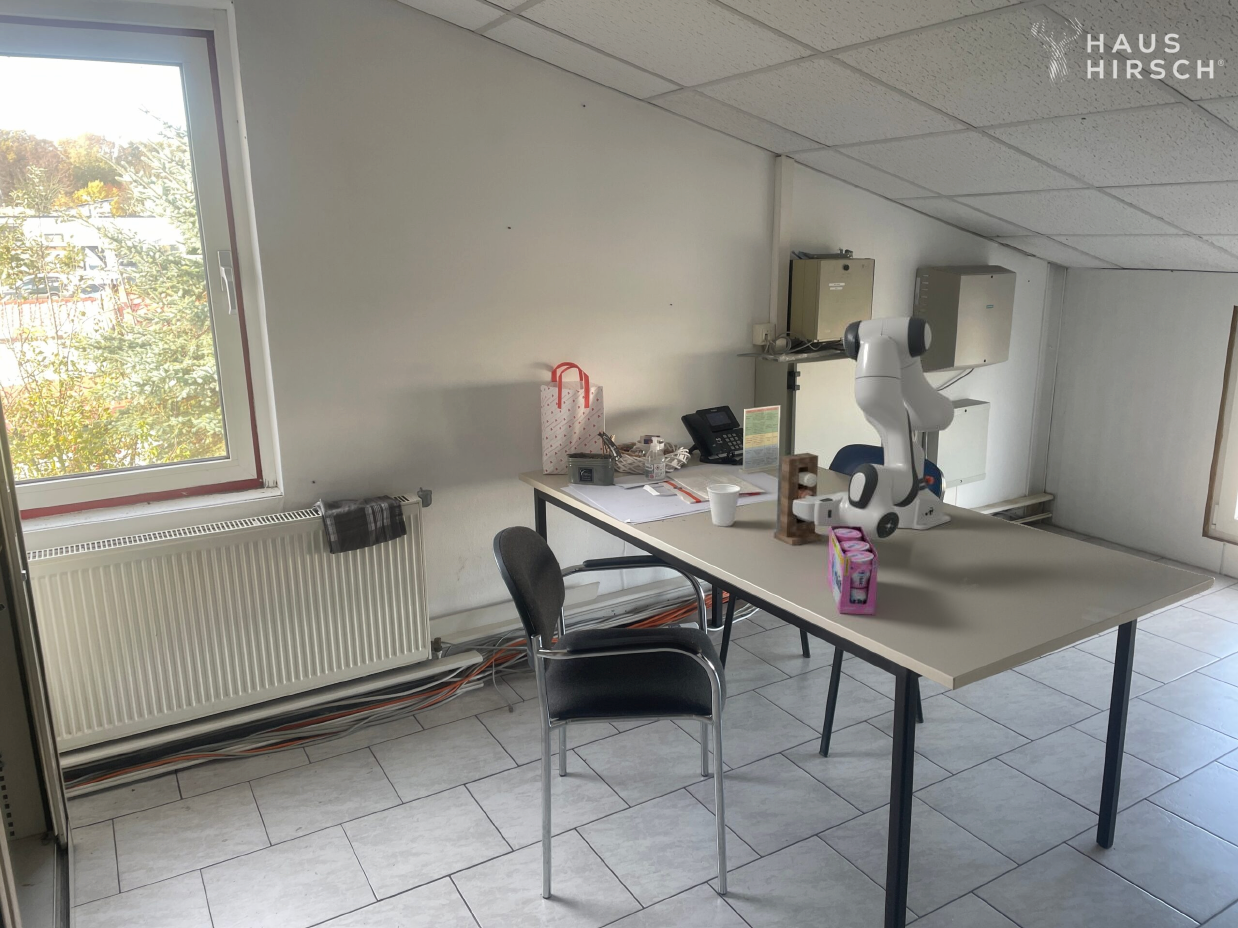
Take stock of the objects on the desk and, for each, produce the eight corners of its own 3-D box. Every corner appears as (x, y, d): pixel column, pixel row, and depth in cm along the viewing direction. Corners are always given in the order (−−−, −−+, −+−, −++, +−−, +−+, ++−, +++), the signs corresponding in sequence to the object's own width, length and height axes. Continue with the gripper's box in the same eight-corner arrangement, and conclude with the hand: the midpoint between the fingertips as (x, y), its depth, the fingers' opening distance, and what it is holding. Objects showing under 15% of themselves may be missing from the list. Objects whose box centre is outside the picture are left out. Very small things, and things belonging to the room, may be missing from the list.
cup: (702, 526, 254) (702, 490, 251) (711, 517, 263) (712, 482, 260) (735, 530, 250) (735, 493, 247) (743, 520, 259) (744, 485, 256)
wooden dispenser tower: (802, 532, 247) (805, 452, 242) (820, 539, 240) (824, 457, 235) (774, 537, 243) (776, 455, 238) (792, 545, 236) (795, 461, 231)
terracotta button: (802, 499, 240) (803, 486, 239) (812, 502, 237) (813, 489, 236) (792, 500, 239) (793, 488, 238) (802, 504, 235) (803, 491, 234)
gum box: (877, 617, 188) (880, 558, 184) (840, 616, 188) (843, 557, 185) (859, 579, 211) (862, 525, 208) (826, 578, 212) (828, 525, 209)
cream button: (806, 482, 238) (807, 470, 237) (816, 486, 234) (817, 473, 234) (796, 484, 236) (796, 471, 236) (806, 487, 233) (806, 474, 232)
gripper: (875, 493, 227) (839, 481, 239) (814, 503, 218) (780, 490, 229) (874, 516, 228) (838, 503, 240) (813, 526, 219) (779, 513, 231)
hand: (809, 497), depth 235 cm, fingers closed
